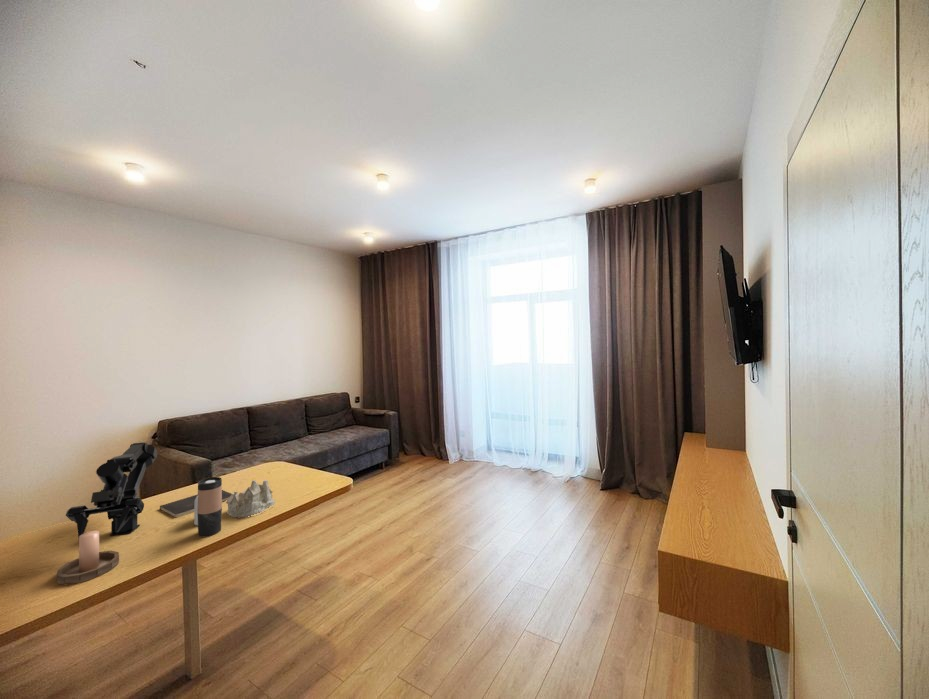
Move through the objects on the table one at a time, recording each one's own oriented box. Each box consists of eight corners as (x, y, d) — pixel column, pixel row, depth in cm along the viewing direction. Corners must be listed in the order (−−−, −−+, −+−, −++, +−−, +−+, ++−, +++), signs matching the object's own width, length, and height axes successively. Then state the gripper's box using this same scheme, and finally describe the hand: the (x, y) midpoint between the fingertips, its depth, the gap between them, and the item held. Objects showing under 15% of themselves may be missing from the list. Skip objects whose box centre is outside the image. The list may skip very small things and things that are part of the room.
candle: (103, 564, 114) (103, 530, 114) (87, 573, 110) (87, 538, 110) (90, 563, 114) (90, 530, 114) (74, 572, 110) (75, 537, 110)
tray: (128, 555, 120) (128, 548, 120) (100, 580, 107) (100, 572, 107) (79, 561, 117) (79, 554, 117) (43, 588, 104) (43, 579, 104)
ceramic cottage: (280, 504, 160) (278, 471, 160) (246, 522, 145) (243, 485, 145) (256, 501, 166) (254, 469, 166) (221, 517, 151) (218, 483, 151)
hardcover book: (234, 499, 167) (234, 494, 167) (175, 519, 147) (175, 513, 147) (217, 492, 175) (217, 487, 175) (159, 510, 155) (159, 505, 155)
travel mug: (226, 527, 140) (226, 476, 140) (213, 537, 132) (213, 484, 132) (206, 527, 140) (206, 477, 140) (192, 537, 132) (192, 484, 132)
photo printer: (205, 514, 150) (205, 485, 150) (217, 513, 151) (217, 485, 151) (192, 526, 140) (192, 495, 140) (204, 525, 141) (204, 494, 141)
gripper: (68, 484, 118) (48, 532, 108) (141, 475, 126) (128, 520, 116) (81, 498, 125) (63, 544, 115) (149, 489, 133) (137, 532, 123)
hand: (98, 534), depth 117 cm, fingers open, 9 cm apart
